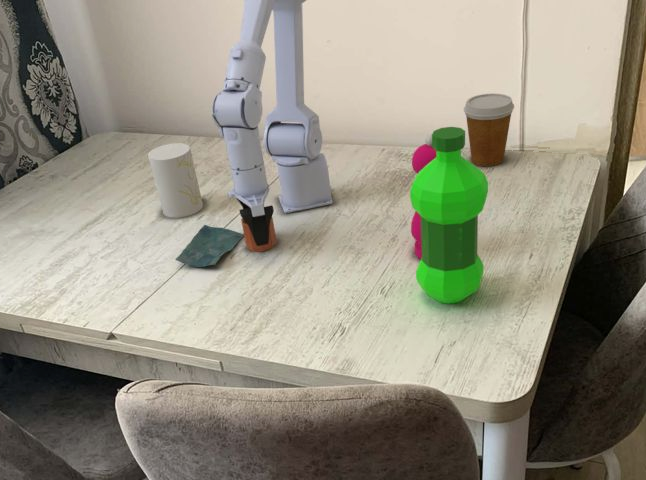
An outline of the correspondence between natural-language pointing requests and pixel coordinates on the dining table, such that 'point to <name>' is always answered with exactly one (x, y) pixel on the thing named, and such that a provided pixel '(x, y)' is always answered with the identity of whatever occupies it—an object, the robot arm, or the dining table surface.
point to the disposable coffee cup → (488, 127)
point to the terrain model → (208, 246)
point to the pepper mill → (418, 163)
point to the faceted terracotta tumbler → (251, 243)
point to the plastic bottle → (449, 219)
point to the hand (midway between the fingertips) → (259, 236)
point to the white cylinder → (176, 180)
